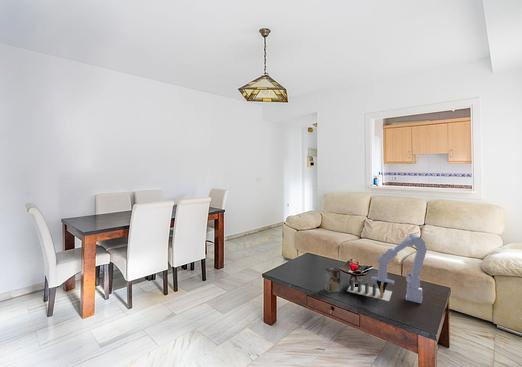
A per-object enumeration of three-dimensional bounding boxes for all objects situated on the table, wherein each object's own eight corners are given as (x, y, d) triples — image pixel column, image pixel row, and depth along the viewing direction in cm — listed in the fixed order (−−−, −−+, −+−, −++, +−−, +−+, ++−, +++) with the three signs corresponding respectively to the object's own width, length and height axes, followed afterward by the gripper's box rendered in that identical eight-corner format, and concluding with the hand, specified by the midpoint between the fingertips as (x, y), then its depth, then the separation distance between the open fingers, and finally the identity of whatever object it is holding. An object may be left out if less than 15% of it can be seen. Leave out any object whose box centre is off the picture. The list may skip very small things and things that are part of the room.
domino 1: (354, 288, 202) (354, 277, 201) (352, 290, 197) (352, 280, 197) (352, 287, 202) (352, 277, 202) (350, 290, 198) (350, 279, 198)
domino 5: (383, 294, 191) (384, 283, 190) (382, 297, 187) (382, 286, 186) (381, 294, 192) (381, 283, 191) (380, 297, 188) (380, 285, 187)
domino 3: (368, 291, 196) (369, 280, 196) (367, 294, 192) (367, 283, 191) (366, 290, 197) (366, 280, 197) (365, 293, 193) (365, 282, 192)
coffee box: (335, 288, 203) (336, 267, 202) (340, 291, 197) (340, 270, 196) (324, 289, 201) (324, 268, 200) (329, 293, 195) (329, 271, 194)
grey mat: (392, 292, 196) (392, 291, 196) (388, 301, 182) (388, 301, 182) (352, 283, 211) (352, 282, 211) (346, 291, 197) (346, 290, 197)
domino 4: (376, 293, 193) (376, 282, 193) (374, 296, 189) (375, 284, 189) (373, 292, 194) (374, 281, 194) (372, 295, 190) (372, 284, 190)
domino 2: (361, 289, 199) (361, 279, 198) (360, 292, 195) (360, 281, 194) (359, 289, 200) (359, 278, 199) (357, 292, 196) (357, 281, 195)
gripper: (394, 272, 187) (394, 292, 188) (372, 268, 195) (372, 287, 196) (393, 276, 182) (393, 296, 182) (370, 272, 189) (370, 291, 190)
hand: (382, 291), depth 189 cm, fingers closed on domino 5, 2 cm apart
